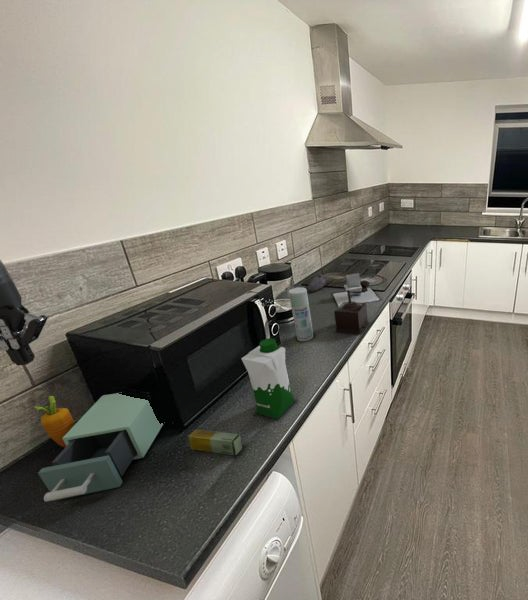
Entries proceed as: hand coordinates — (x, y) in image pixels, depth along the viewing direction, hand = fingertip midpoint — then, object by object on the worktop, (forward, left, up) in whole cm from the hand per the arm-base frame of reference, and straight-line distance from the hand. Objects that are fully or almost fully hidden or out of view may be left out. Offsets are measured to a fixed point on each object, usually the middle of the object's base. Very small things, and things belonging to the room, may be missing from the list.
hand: (25, 362), depth 65 cm
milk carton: (+43, +6, -27) cm, 51 cm away
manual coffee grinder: (+70, +51, -27) cm, 91 cm away
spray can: (+50, +46, -27) cm, 73 cm away
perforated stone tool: (+55, +101, -27) cm, 118 cm away
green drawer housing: (+8, +4, -27) cm, 28 cm away
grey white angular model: (+74, +83, -27) cm, 115 cm away
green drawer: (+8, -7, -26) cm, 28 cm away
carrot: (-4, +4, -27) cm, 28 cm away
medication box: (+31, -5, -27) cm, 41 cm away
